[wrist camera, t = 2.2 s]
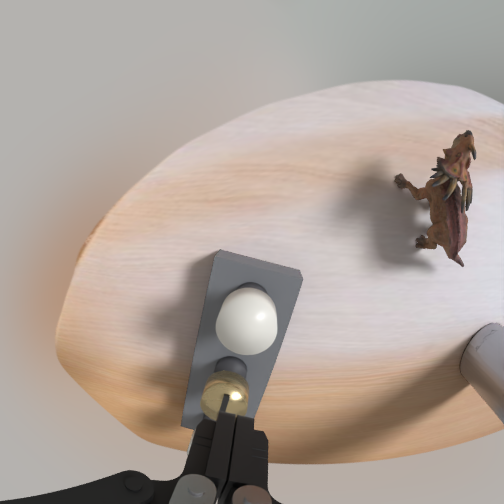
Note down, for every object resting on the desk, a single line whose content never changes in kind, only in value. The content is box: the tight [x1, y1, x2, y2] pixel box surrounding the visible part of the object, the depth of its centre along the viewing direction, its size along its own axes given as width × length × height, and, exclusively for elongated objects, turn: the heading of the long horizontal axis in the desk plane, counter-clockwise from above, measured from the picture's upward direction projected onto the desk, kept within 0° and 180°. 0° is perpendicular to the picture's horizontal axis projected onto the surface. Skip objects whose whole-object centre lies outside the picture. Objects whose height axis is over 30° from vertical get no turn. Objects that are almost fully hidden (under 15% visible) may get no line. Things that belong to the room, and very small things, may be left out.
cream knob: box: [216, 288, 277, 355], centre depth 22 cm, size 4×4×3 cm
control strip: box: [181, 250, 303, 430], centre depth 29 cm, size 22×8×4 cm, turn 166°
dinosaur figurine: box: [395, 130, 476, 267], centre depth 22 cm, size 14×6×9 cm, turn 20°
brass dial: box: [200, 371, 249, 421], centre depth 23 cm, size 4×4×3 cm
